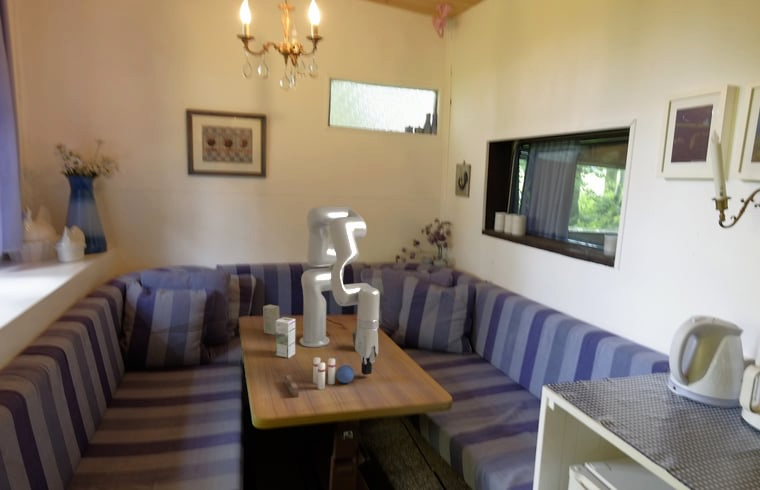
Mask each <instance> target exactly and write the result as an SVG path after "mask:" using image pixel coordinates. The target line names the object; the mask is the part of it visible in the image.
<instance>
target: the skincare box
mask: <svg viewBox="0 0 760 490" xmlns="http://www.w3.org/2000/svg"><path fill="white" fill-rule="evenodd" d="M262 312H263V314H262V317H263V333H265V334H268V335H276V321H277V320H278V319H280V318H281V317H280V306H279V305H274V304H267V305H264V306H263V305H262Z"/></svg>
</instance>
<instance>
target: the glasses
mask: <svg viewBox="0 0 760 490" xmlns="http://www.w3.org/2000/svg"><path fill="white" fill-rule="evenodd" d="M326 321H328V322H330V323H333V324H334V325H338V326H339V325H340V326H341V327H342V328H343V329H345V330H347V328H346V326H345V325H344V324H343V323H340V322H336V321H333V320H331V319H329V318H327V317H326ZM326 335H327V336H329V337H331V335H330V333H329V332H328V331H327V330H326Z"/></svg>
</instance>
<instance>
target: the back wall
mask: <svg viewBox="0 0 760 490" xmlns="http://www.w3.org/2000/svg"><path fill="white" fill-rule="evenodd" d="M284 384H285V386H286V387H287V389H288V391H289V392H290V394H291V395H292V396H293V398H299V396H300V395H299V392H300V391H299V386H298V385H297V384H296V381H295V380H294V379H293V378H292V376H291V375H290V373H284Z"/></svg>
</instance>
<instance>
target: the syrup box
mask: <svg viewBox="0 0 760 490" xmlns="http://www.w3.org/2000/svg"><path fill="white" fill-rule="evenodd" d="M295 354H296V318H291V317H280V319H278V320H277V321H276V334H275V357H281V358H285V359H290V358H291V357H293V356H294V355H295Z"/></svg>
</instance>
